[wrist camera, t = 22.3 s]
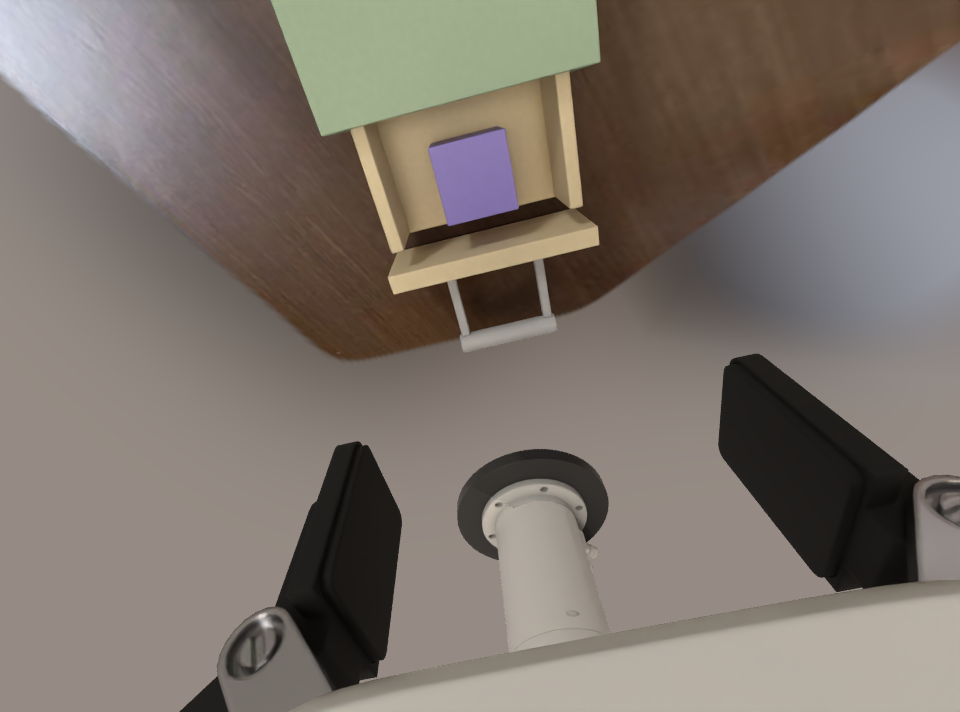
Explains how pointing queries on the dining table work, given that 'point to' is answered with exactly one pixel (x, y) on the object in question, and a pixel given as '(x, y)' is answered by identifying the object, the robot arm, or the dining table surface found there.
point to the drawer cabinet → (427, 51)
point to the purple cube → (474, 175)
